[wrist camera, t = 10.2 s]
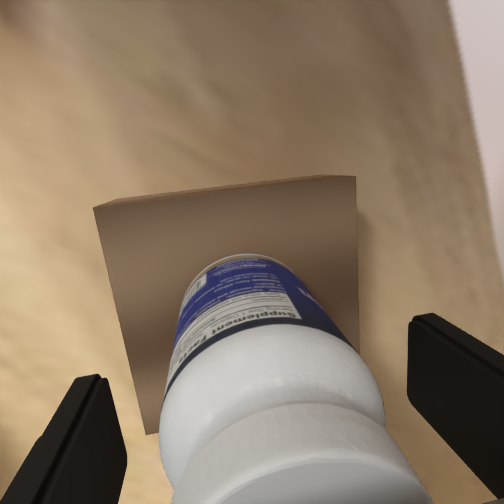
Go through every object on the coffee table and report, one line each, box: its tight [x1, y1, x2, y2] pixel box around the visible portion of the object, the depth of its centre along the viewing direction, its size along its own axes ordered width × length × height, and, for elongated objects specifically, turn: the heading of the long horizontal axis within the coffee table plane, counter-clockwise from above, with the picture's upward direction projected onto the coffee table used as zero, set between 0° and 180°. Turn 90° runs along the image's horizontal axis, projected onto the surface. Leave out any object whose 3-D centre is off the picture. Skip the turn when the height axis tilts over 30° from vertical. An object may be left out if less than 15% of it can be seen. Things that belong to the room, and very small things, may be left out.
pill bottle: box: [159, 254, 433, 504], centre depth 10 cm, size 6×6×10 cm
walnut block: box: [93, 175, 360, 435], centre depth 17 cm, size 11×11×4 cm
